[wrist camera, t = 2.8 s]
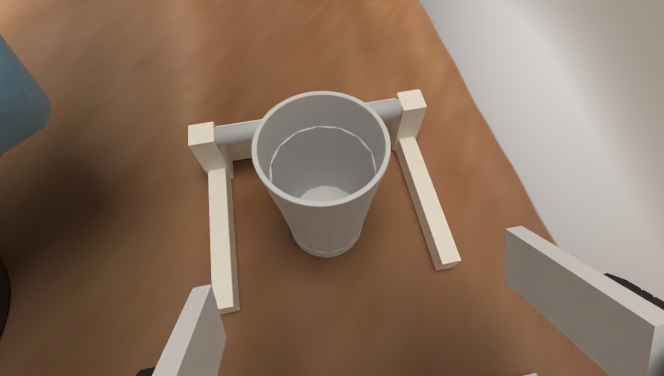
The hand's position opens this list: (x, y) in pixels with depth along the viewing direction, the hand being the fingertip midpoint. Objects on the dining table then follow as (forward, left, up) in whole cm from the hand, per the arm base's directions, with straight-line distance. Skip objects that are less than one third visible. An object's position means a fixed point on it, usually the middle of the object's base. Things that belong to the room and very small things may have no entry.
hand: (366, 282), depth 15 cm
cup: (-5, +7, -13) cm, 16 cm away
